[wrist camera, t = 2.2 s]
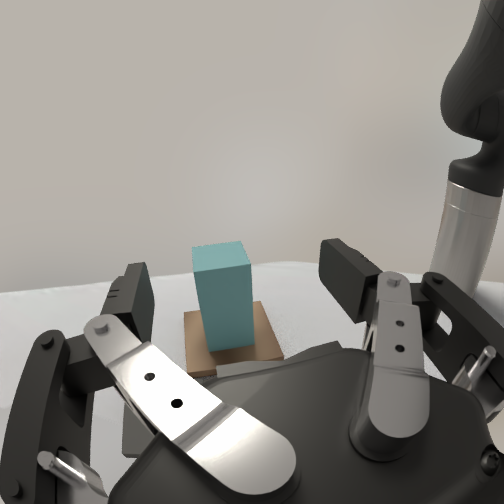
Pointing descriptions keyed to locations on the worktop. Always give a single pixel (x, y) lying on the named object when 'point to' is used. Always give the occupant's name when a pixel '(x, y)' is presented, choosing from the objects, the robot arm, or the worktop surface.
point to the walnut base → (206, 362)
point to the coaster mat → (136, 433)
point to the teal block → (224, 294)
